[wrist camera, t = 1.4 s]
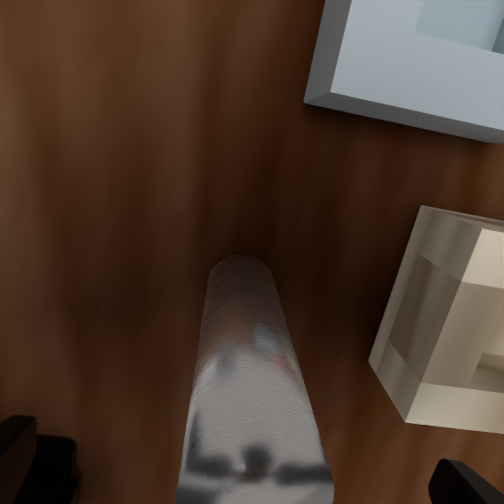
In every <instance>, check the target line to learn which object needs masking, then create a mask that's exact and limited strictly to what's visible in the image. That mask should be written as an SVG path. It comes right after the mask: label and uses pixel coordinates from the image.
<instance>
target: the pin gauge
mask: <svg viewBox="0 0 504 504" xmlns="http://www.w3.org/2000/svg"><path fill="white" fill-rule="evenodd" d="M333 498H334V483H333V479H332V476H331V472H330V469H329V465H328V462H327V459H326V455H325V452H324V449H323V445H322V442H321V438H320V435H319V432H318V428H317V425H316V421H315V418H314V415H313V411H312V408H311V404H310V401H309V398H308V394H307V391H306V387H305V384H304V381H303V377H302V374H301V370H300V367H299V364H298V360H297V357H296V353H295V350H294V347H293V343H292V340H291V337H290V333H289V330H288V326H287V323H286V320H285V316H284V313H283V309H282V306H281V303H280V299H279V296H278V292H277V289H276V286H275V282H274V279H273V275H272V273H271V271H270V269H269V267H268V266H267V265H266V264H265V263H264V262H263V261H261V260H260V259H258V258H256V257H254V256H251V255H246V254H236V255H232V256H228V257H226V258H224V259H222V260H221V261H220V262H218V263H217V264H216V265H215V266H214V268H213V269H212V271H211V273H210V275H209V278H208V284H207V291H206V297H205V304H204V311H203V317H202V324H201V331H200V337H199V344H198V351H197V358H196V364H195V371H194V378H193V384H192V391H191V398H190V404H189V411H188V418H187V424H186V431H185V438H184V445H183V451H182V458H181V465H180V471H179V478H178V485H177V491H176V504H332V502H333Z"/></svg>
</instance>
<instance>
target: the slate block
mask: <svg viewBox="0 0 504 504" xmlns="http://www.w3.org/2000/svg"><path fill="white" fill-rule="evenodd" d="M303 103H306V104H311V105H316V106H320V107H325V108H330V109H334V110H339V111H344V112H348V113H353V114H358V115H362V116H367V117H371V118H376V119H381V120H385V121H390V122H395V123H399V124H404V125H409V126H413V127H418V128H422V129H427V130H432V131H436V132H441V133H446V134H450V135H455V136H460V137H464V138H469V139H474V140H478V141H483V142H487V143H502V144H504V0H325V5H324V9H323V14H322V18H321V23H320V28H319V32H318V37H317V41H316V46H315V51H314V55H313V60H312V64H311V69H310V74H309V78H308V83H307V87H306V92H305V96H304V101H303Z"/></svg>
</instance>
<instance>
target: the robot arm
mask: <svg viewBox="0 0 504 504" xmlns="http://www.w3.org/2000/svg"><path fill="white" fill-rule="evenodd" d="M36 431H37V422H36V418H35V417H33V416H28V415H18V414H17V415H13V416H10V417H9V418H7V419H6V420H4V421H2V422H1V423H0V504H78V492H79V483H78V481H77V479H74V468H75V445H74V444H73V443H71V442H70V441H66V440H57V439H47V438H37V437H36ZM64 451H65V452H64ZM428 491H429V496H430V499H431V502H432V504H504V494H502V493H501V492H500V491H498V490H497V489H496V488H495V487H493V486H492V485H491V484H490V483H488V482H487V481H486V480H485V479H483V478H482V477H481V476H479V475H478V474H477V473H476V472H474V471H473V470H472V469H471V468H469V467H468V466H467V465H465V464H464V463H463V462H462V461H460V460H457V459H448V458H442V459H441V460H439V462H438V464H437V466H436V468H435V470H434V473H433V475H432V477H431V479H430V482H429V486H428Z"/></svg>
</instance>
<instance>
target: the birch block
mask: <svg viewBox="0 0 504 504" xmlns="http://www.w3.org/2000/svg"><path fill="white" fill-rule="evenodd" d="M368 362H369V363H370V365H371V367H372V368H373V370H374V372H375V373H376V375H377V377H378V378H379V380H380V382H381V383H382V385H383V387H384V388H385V390H386V392H387V393H388V395H389V397H390V398H391V400H392V402H393V403H394V405H395V407H396V408H397V410H398V412H399V413H400V415H401V417H402V418H403V420H404V422H406V423H414V424H423V425H432V426H440V427H449V428H458V429H466V430H475V431H484V432H493V433H501V434H504V221H502V220H497V219H492V218H486V217H481V216H476V215H470V214H465V213H460V212H455V211H449V210H444V209H439V208H433V207H428V206H423V205H421V206H420V209H419V212H418V215H417V218H416V221H415V224H414V227H413V230H412V233H411V236H410V239H409V242H408V245H407V248H406V251H405V254H404V257H403V259H402V262H401V265H400V268H399V271H398V274H397V277H396V280H395V283H394V286H393V289H392V292H391V295H390V298H389V301H388V304H387V307H386V310H385V313H384V316H383V319H382V322H381V324H380V327H379V330H378V333H377V336H376V339H375V342H374V345H373V348H372V351H371V354H370V357H369V360H368Z"/></svg>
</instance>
